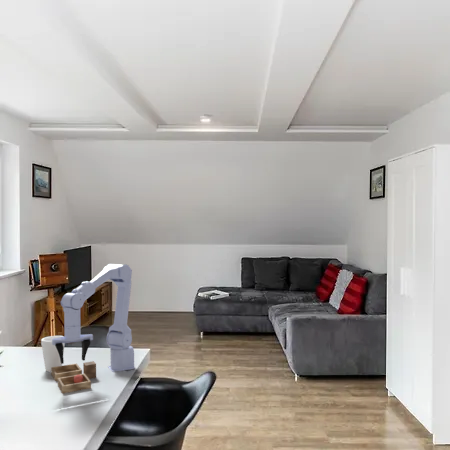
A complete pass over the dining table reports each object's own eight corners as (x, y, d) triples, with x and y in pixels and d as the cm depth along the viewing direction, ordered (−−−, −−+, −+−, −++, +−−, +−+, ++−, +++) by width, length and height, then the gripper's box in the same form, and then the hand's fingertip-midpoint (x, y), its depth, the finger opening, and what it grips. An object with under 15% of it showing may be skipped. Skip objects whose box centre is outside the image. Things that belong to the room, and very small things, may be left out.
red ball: (82, 381, 173) (82, 372, 173) (84, 384, 170) (84, 375, 170) (72, 383, 171) (72, 374, 171) (74, 386, 168) (74, 376, 168)
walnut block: (93, 376, 181) (93, 361, 181) (96, 379, 177) (96, 363, 177) (83, 377, 179) (83, 362, 179) (85, 380, 175) (85, 365, 175)
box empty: (76, 370, 187) (76, 363, 187) (82, 377, 179) (81, 370, 179) (51, 374, 183) (51, 367, 183) (55, 382, 174) (55, 374, 174)
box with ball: (84, 381, 174) (84, 373, 174) (90, 389, 166) (90, 381, 166) (57, 386, 169) (57, 378, 169) (62, 394, 161) (62, 386, 161)
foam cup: (57, 373, 184) (56, 341, 184) (36, 372, 186) (36, 340, 186) (69, 366, 193) (69, 336, 193) (50, 365, 195) (50, 335, 195)
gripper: (89, 321, 176) (90, 355, 176) (50, 325, 169) (50, 361, 169) (94, 324, 170) (94, 360, 170) (53, 329, 163) (53, 366, 163)
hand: (72, 361), depth 169 cm, fingers open, 7 cm apart
